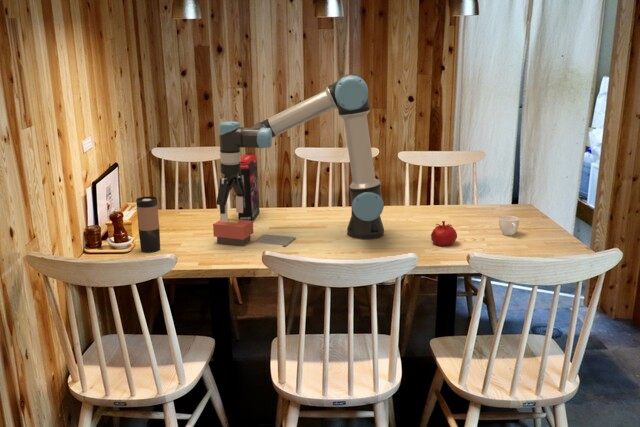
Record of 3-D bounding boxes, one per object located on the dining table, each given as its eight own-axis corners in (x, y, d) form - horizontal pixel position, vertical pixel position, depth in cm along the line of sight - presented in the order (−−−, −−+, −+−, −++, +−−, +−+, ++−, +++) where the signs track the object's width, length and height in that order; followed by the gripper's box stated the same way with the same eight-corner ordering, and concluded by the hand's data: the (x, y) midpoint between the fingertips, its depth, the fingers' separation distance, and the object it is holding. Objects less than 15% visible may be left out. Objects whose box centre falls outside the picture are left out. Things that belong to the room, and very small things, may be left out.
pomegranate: (461, 245, 242) (463, 222, 239) (441, 249, 237) (443, 226, 234) (444, 238, 250) (446, 215, 247) (424, 241, 245) (426, 219, 243)
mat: (295, 238, 250) (295, 237, 250) (285, 246, 240) (285, 245, 240) (263, 235, 255) (263, 234, 255) (252, 243, 245) (252, 242, 244)
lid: (253, 233, 246) (252, 219, 245) (243, 239, 238) (243, 226, 237) (224, 230, 250) (223, 217, 249) (213, 236, 242) (212, 223, 241)
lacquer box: (250, 242, 246) (249, 222, 244) (243, 247, 240) (242, 227, 238) (225, 239, 250) (224, 220, 248) (217, 244, 243) (216, 225, 241)
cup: (513, 231, 259) (514, 215, 257) (523, 238, 249) (525, 222, 247) (495, 231, 258) (496, 216, 256) (505, 239, 248) (506, 222, 246)
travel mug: (162, 246, 242) (159, 196, 237) (158, 252, 235) (154, 201, 229) (143, 246, 242) (138, 196, 236) (138, 253, 234) (133, 201, 229)
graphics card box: (252, 223, 272) (250, 161, 265) (237, 223, 273) (234, 161, 265) (259, 212, 288) (258, 154, 281) (245, 212, 289) (242, 154, 282)
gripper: (235, 156, 249) (237, 208, 255) (205, 168, 226) (207, 224, 232) (253, 157, 247) (254, 209, 252) (224, 169, 224) (226, 226, 230)
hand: (232, 216), depth 242 cm, fingers open, 13 cm apart
